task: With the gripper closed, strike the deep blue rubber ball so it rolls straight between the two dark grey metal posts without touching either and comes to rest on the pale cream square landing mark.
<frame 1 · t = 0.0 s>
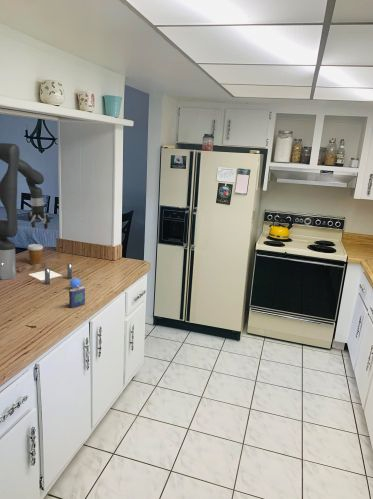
hand: (39, 228, 253), 22 cm above the worktop, tool pointing down, fingers open, 8 cm apart
right post: (69, 278, 230), on the worktop
left post: (47, 283, 218), on the worktop
stopper wall: (32, 269, 241), on the worktop
disposable coffee cup: (35, 263, 253), on the worktop
landing mark: (45, 275, 232), on the worktop
flask: (77, 306, 193), on the worktop
ball: (75, 283, 214), on the worktop
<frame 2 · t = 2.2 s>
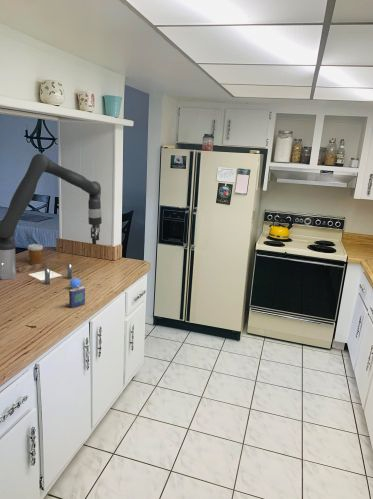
hand: (95, 242, 233), 21 cm above the worktop, tool pointing down, fingers open, 8 cm apart
nothing on the worktop moved.
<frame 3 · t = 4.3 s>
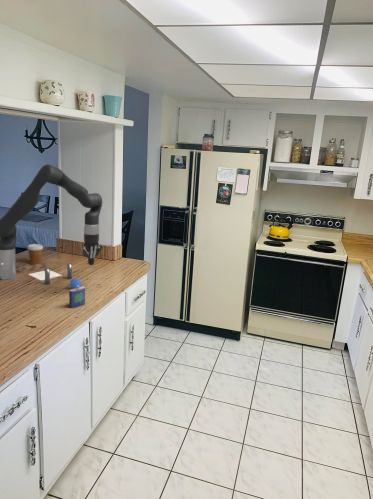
hand: (91, 264, 203), 17 cm above the worktop, tool pointing down, fingers closed
nothing on the worktop moved.
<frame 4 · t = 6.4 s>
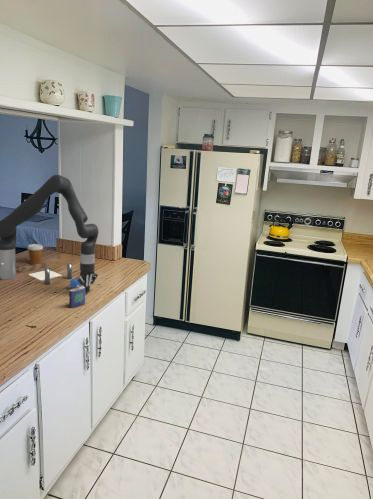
hand: (86, 292, 208), 1 cm above the worktop, tool pointing down, fingers closed
nothing on the worktop moved.
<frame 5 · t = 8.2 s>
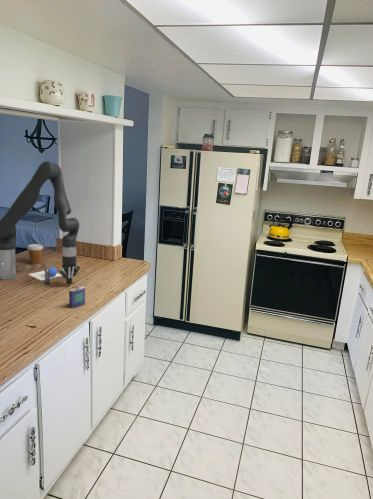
hand: (69, 284, 217), 2 cm above the worktop, tool pointing down, fingers closed
ball: (51, 271, 230), on the worktop
everything else where it was.
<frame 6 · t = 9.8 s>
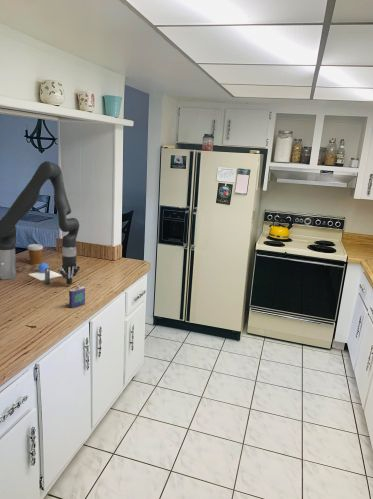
hand: (69, 284, 217), 2 cm above the worktop, tool pointing down, fingers closed
ball: (43, 267, 236), on the worktop
everything else where it was.
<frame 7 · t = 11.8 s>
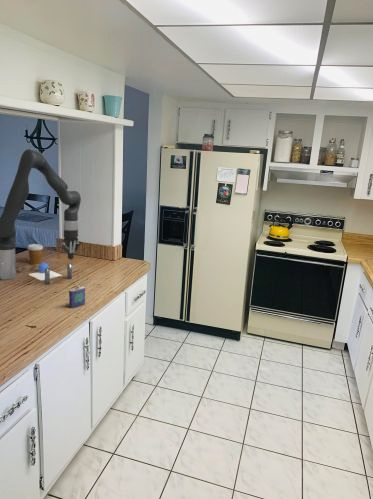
hand: (70, 259, 213), 16 cm above the worktop, tool pointing down, fingers closed
nothing on the worktop moved.
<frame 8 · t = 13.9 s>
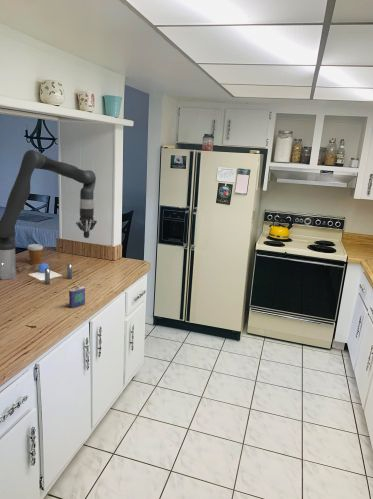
hand: (86, 237, 218), 27 cm above the worktop, tool pointing down, fingers closed
nothing on the worktop moved.
at the end: ball 5.2 cm from the landing mark (horizontally); ball never touched left post; ball never touched right post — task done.
